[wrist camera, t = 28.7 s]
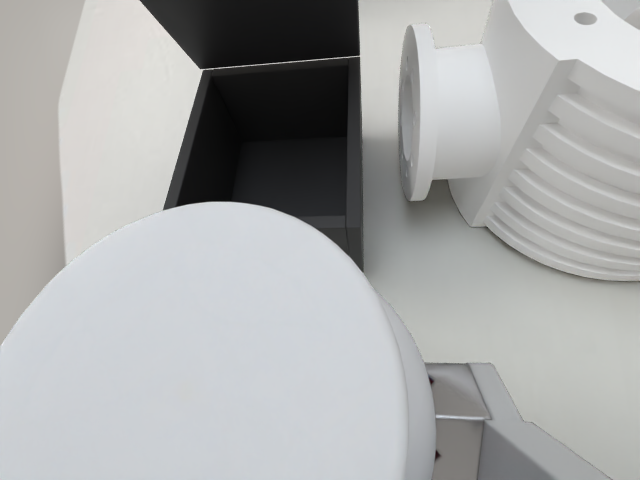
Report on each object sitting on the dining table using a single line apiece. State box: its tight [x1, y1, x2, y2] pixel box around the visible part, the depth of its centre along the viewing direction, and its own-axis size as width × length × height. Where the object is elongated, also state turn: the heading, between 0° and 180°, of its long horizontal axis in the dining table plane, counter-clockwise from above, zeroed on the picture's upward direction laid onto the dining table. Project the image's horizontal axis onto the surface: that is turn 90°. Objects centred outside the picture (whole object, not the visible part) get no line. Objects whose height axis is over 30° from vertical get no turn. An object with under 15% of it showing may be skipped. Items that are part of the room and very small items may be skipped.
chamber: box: [163, 57, 363, 272], centre depth 26 cm, size 14×12×8 cm
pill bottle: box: [0, 202, 436, 480], centre depth 8 cm, size 6×6×11 cm
